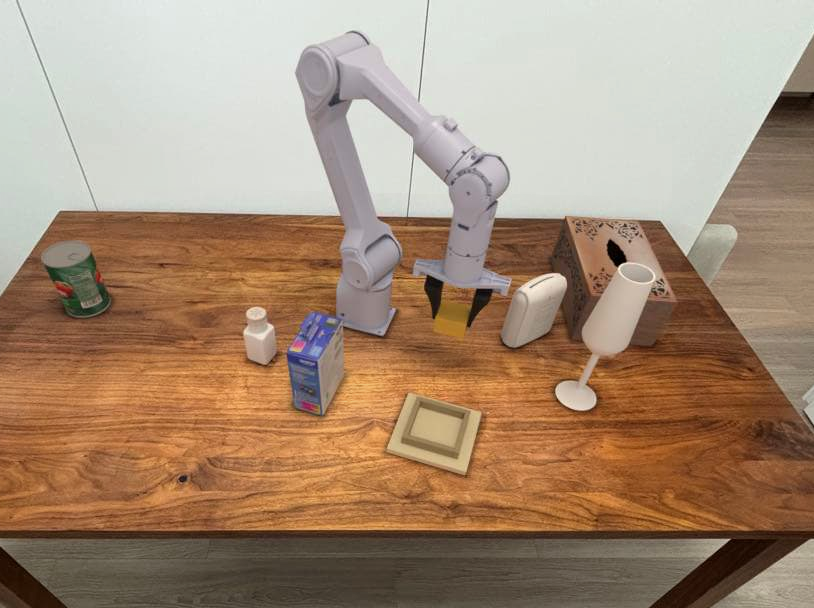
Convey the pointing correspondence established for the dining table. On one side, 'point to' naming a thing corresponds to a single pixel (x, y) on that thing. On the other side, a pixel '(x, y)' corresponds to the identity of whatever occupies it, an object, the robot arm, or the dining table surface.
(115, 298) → the dining table surface
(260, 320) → the pepper shaker
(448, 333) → the mustard block
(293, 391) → the ink cartridge box
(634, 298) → the champagne flute
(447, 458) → the base pad
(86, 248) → the canned tomato
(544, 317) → the photo printer
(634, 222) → the tissue box cover
